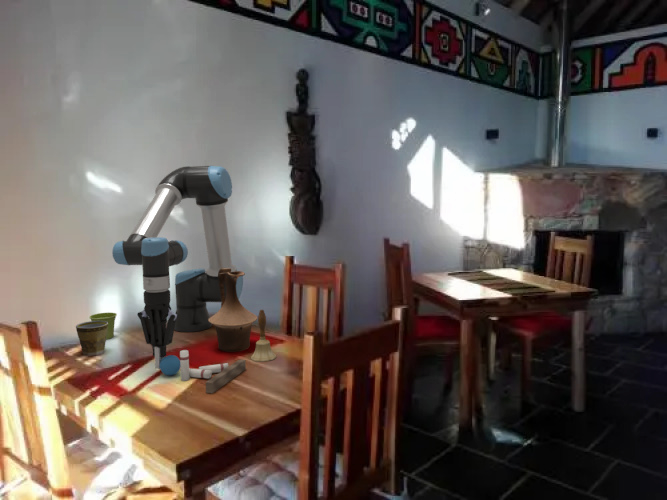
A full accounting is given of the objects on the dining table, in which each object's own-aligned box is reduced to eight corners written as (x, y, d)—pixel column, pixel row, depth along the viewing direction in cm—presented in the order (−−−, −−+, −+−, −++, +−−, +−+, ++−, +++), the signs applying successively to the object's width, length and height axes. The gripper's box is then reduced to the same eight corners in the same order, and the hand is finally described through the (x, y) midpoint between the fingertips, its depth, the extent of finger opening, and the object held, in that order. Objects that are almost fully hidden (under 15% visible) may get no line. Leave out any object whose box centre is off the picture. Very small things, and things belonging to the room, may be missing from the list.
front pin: (185, 366, 159) (211, 368, 157) (187, 373, 160) (212, 375, 157) (181, 370, 157) (207, 373, 154) (182, 378, 158) (208, 380, 155)
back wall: (239, 368, 164) (239, 359, 164) (245, 369, 164) (245, 359, 163) (205, 392, 145) (205, 382, 145) (212, 393, 145) (212, 382, 144)
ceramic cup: (116, 351, 184) (114, 322, 183) (90, 359, 175) (88, 329, 174) (92, 345, 191) (90, 318, 189) (66, 353, 182) (64, 324, 181)
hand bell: (245, 359, 173) (244, 311, 171) (260, 352, 180) (259, 306, 179) (266, 363, 169) (265, 314, 167) (281, 355, 177) (279, 308, 175)
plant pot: (99, 342, 194) (97, 319, 193) (86, 338, 200) (84, 316, 199) (123, 337, 201) (121, 314, 200) (109, 333, 207) (108, 311, 206)
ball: (170, 349, 162) (184, 355, 160) (171, 367, 164) (185, 372, 161) (155, 357, 157) (169, 362, 154) (155, 375, 159) (170, 381, 156)
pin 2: (199, 364, 159) (227, 361, 162) (198, 370, 161) (227, 366, 164) (200, 371, 158) (228, 367, 160) (199, 376, 159) (228, 372, 162)
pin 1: (184, 377, 157) (182, 349, 156) (191, 378, 156) (190, 350, 155) (179, 380, 155) (177, 352, 154) (186, 381, 154) (185, 352, 153)
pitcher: (199, 347, 187) (195, 268, 184) (239, 337, 199) (237, 263, 196) (227, 358, 175) (224, 274, 171) (268, 347, 186) (266, 268, 183)
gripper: (130, 291, 156) (133, 368, 159) (168, 293, 152) (171, 373, 155) (146, 286, 163) (149, 361, 166) (183, 288, 159) (185, 365, 162)
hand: (160, 366), depth 160 cm, fingers closed
